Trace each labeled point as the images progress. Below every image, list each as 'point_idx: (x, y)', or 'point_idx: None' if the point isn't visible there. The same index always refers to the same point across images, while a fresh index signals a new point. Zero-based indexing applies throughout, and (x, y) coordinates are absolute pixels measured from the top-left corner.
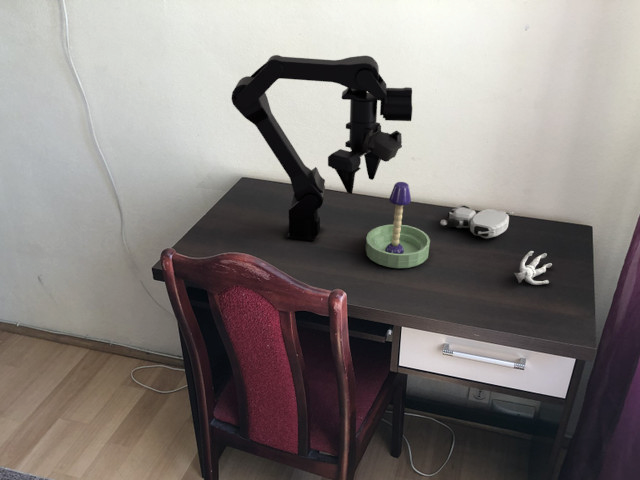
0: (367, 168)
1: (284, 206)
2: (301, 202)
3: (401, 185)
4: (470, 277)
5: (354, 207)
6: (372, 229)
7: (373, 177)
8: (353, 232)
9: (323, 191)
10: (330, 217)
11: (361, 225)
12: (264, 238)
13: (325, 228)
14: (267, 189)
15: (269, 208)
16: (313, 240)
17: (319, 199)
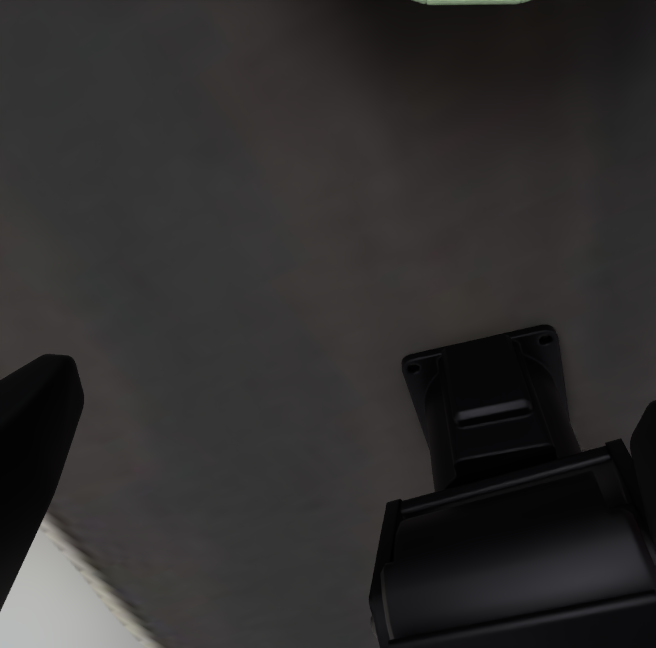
0: (18, 555)
1: (284, 537)
2: None
3: None
4: None
5: (58, 321)
6: (430, 2)
7: (48, 373)
8: (328, 187)
9: (507, 571)
10: (246, 367)
11: (214, 188)
12: None
13: (372, 336)
14: (204, 615)
15: (334, 564)
16: (548, 326)
17: (644, 540)
